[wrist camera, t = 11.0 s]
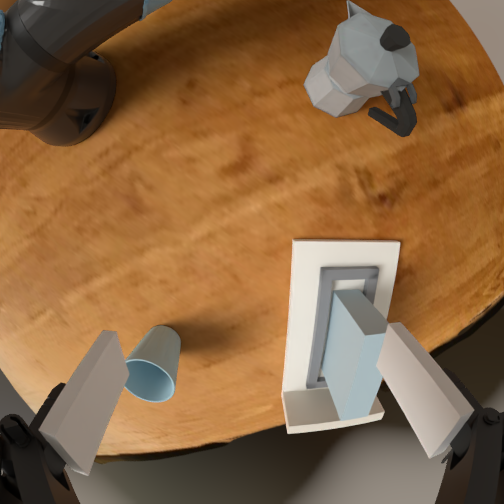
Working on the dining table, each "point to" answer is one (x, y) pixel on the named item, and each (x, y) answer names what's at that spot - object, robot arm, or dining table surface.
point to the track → (317, 319)
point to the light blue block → (353, 353)
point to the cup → (154, 365)
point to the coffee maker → (367, 71)
